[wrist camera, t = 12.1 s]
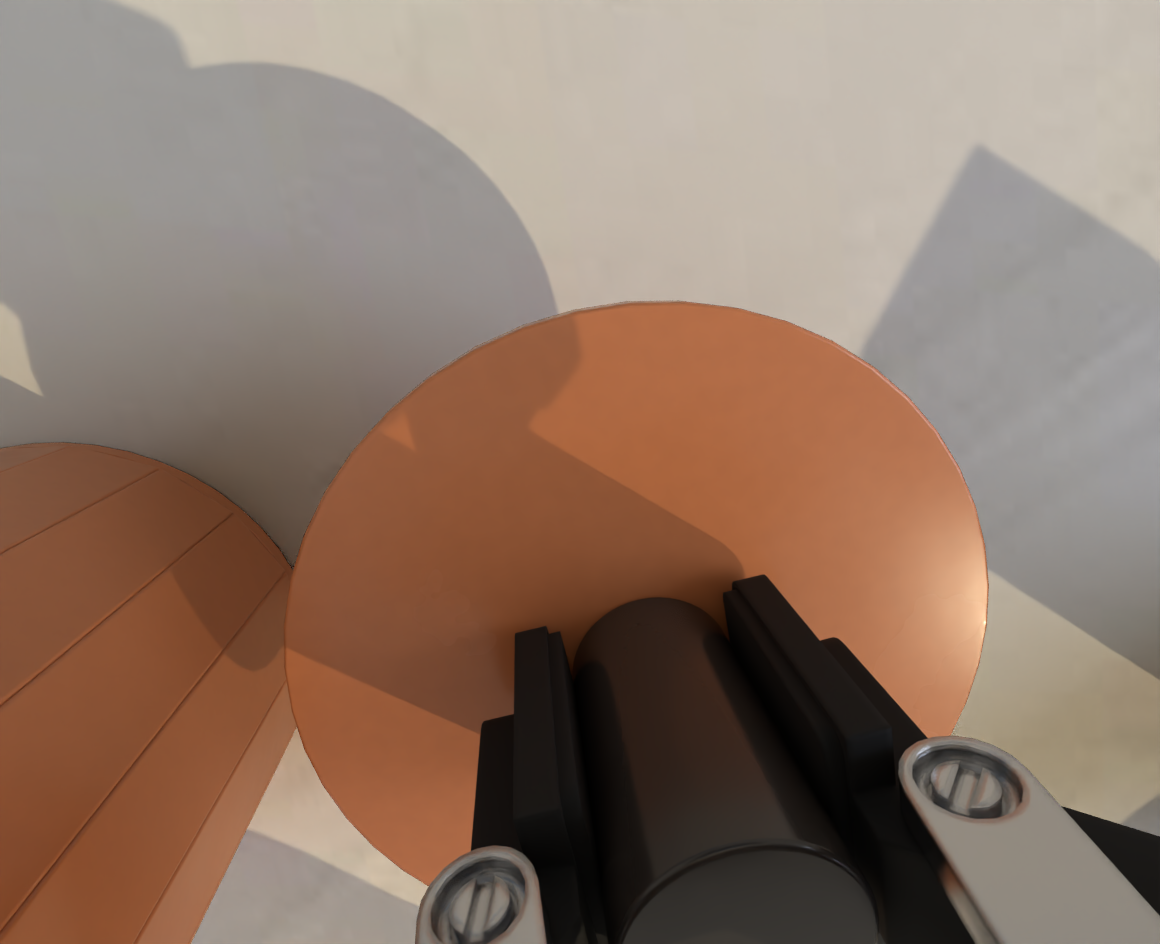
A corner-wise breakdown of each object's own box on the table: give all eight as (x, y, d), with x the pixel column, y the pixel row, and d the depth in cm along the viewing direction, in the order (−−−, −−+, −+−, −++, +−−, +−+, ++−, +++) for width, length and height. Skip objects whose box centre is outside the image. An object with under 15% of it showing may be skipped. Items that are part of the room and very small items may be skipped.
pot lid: (415, 937, 14) (342, 1414, 8) (197, 391, 10) (-229, 544, 4) (957, 803, 14) (1261, 1168, 9) (934, 225, 11) (1450, 162, 5)
